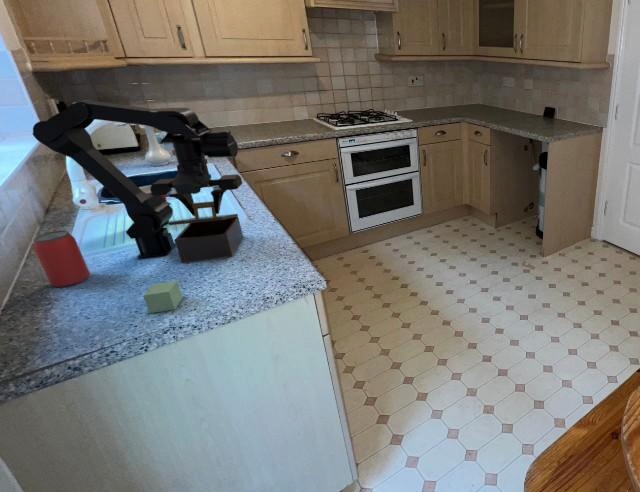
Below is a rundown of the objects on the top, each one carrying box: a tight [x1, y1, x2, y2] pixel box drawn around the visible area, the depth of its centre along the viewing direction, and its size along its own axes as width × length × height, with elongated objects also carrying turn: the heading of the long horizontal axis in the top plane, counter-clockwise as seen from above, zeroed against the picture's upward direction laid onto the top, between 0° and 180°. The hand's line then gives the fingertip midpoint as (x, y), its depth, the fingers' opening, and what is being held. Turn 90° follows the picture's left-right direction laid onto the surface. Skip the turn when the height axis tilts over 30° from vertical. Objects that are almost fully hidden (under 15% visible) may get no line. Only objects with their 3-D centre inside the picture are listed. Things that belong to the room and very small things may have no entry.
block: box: [142, 280, 184, 314], centre depth 87 cm, size 4×4×4 cm
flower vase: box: [123, 123, 172, 167], centre depth 184 cm, size 13×18×25 cm
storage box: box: [173, 216, 244, 264], centre depth 111 cm, size 12×11×7 cm
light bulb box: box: [155, 131, 180, 156], centre depth 205 cm, size 11×7×11 cm, turn 159°
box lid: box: [168, 200, 239, 226], centre depth 108 cm, size 13×11×5 cm
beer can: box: [33, 229, 91, 288], centre depth 94 cm, size 7×7×12 cm
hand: (206, 214), depth 109 cm, fingers closed on box lid, 5 cm apart
